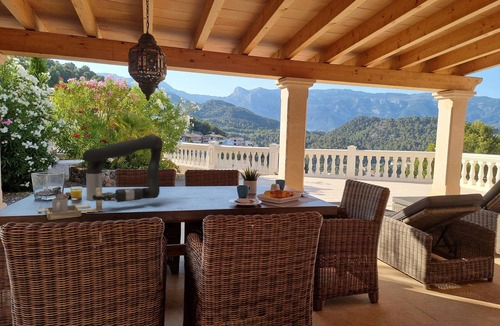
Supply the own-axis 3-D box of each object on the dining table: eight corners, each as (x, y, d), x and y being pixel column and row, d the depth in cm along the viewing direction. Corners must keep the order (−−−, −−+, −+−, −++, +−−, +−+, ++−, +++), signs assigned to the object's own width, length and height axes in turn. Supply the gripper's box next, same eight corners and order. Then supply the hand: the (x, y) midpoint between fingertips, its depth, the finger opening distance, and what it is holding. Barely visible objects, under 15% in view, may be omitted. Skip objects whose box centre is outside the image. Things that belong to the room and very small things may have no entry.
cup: (69, 213, 182) (68, 197, 182) (65, 218, 173) (65, 201, 172) (54, 213, 180) (53, 197, 179) (49, 218, 171) (49, 201, 170)
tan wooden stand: (45, 213, 179) (44, 190, 178) (99, 207, 195) (99, 186, 194) (48, 220, 167) (47, 195, 166) (106, 213, 183) (105, 190, 182)
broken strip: (37, 211, 184) (37, 209, 183) (88, 206, 199) (88, 204, 199) (38, 213, 180) (38, 211, 179) (90, 207, 195) (90, 206, 195)
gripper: (121, 186, 201) (90, 189, 191) (128, 190, 190) (96, 193, 180) (121, 199, 202) (90, 202, 192) (128, 203, 191) (96, 207, 180)
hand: (93, 198), depth 186 cm, fingers closed on tan wooden stand, 3 cm apart
